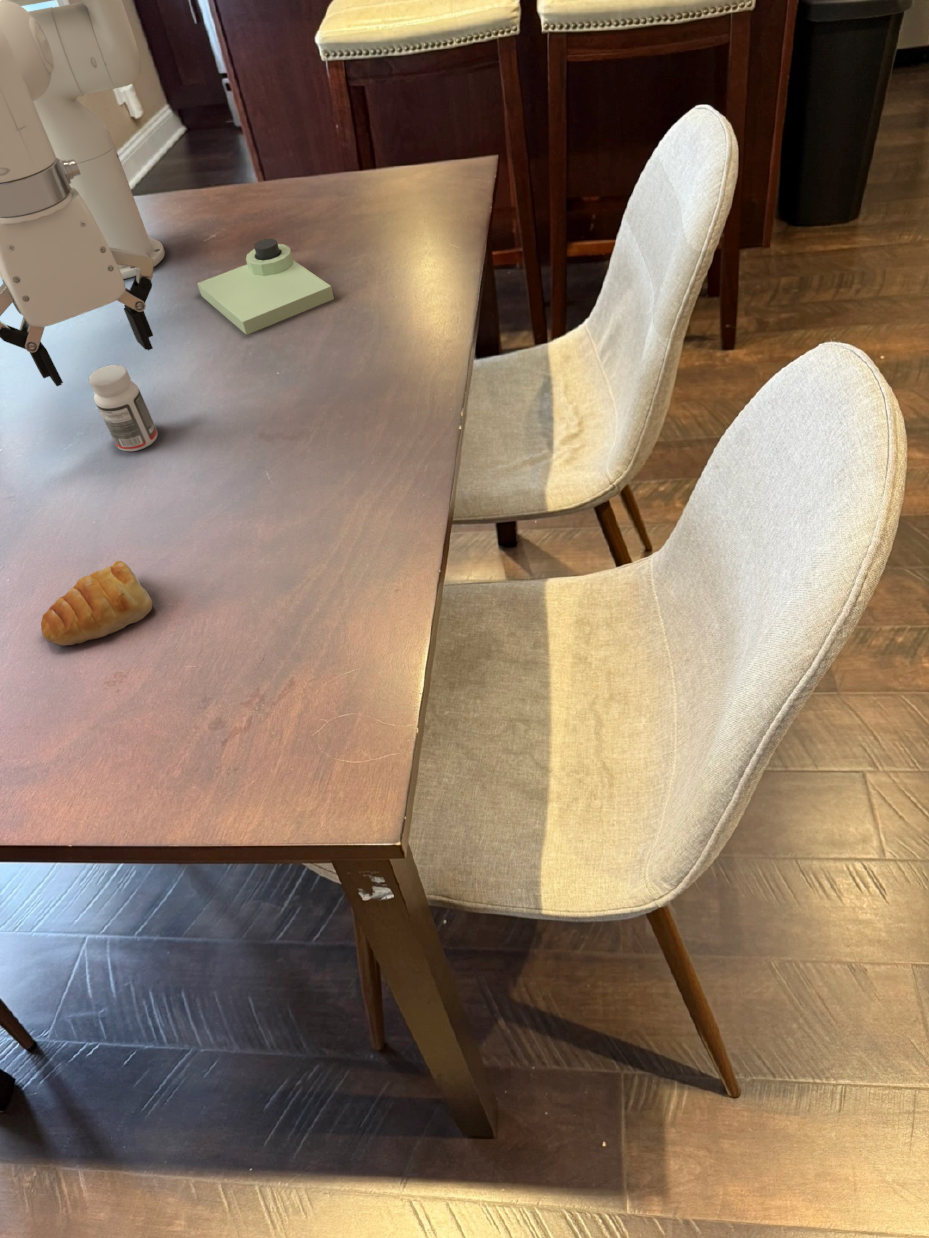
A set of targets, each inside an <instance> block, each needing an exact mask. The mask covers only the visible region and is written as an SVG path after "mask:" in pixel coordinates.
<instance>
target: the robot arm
mask: <svg viewBox="0 0 929 1238" xmlns="http://www.w3.org/2000/svg"><path fill="white" fill-rule="evenodd" d="M52 1H54V0H0V279H1V281H2V284H1V285H0V317H1V316H2V315H3V314H4V313H5V311H6V310H7V309H8V308H9V307H10V306H11V305H13V306H14V307H15V309H16V311H17V312H18V313H19V314H20V315H22V319H21V324H20V328H16V327H15V326H11V325H8V324H6V323H5V322H3V321H2V320H0V339H1V340H2V341H3V342H5V343H8V344H11V345H13V346H16V347H18V348H21V349H23V350H26V351H27V352H28V353H29V354H30V357H31V358H32V360H33V362H34V364H35V366H36V368H37V370H38V372H39V374H40V376H42V378H43V379H46V378H50V379H51V380H52V382H53V384H54V385H55V387H59V386H63V383H64V382H63V379H62V377H61V376H60V373H59V372H58V369H57V368H56V366H55V363H54V362H53V359H52V357H51V355H50V353H49V351H48V349H47V348H46V347H45V345H44V344H43V343H42V338H43V334H44V331H45V328H46V327H50V326H53V325H56V324H58V323H61V322H65V321H68V320H69V319H73V318H76V317H79V316H82V315H84V314H86V313H88V312H91V311H95V310H97V309H100V308H103V307H105V306H107V305H110V304H113V303H114V302H116V301H117V302H119V303H121V304H123V311H124V313H125V316H126V318H127V321H128V323H129V326H130V328H131V329H132V333H133V336H134V338H135V340H136V342H137V343H138V344H139V345H140V346H141V347H142V348H143V349H144V350H145V351H146V350H147V351H150V350H152V349H153V345H152V343H151V340H150V338H151V337H154V334H153V331H152V328H151V326H150V322H149V321H148V318H147V316H146V312H145V310H146V303H147V300H148V298H149V295H150V293H151V290H152V287H153V282H152V279H153V276H154V268H155V267H156V266H157V265H158V264H160V263H161V261H163V259H164V257H165V253H166V252H165V248H164V246H163V244H162V242H160V241H159V239H158V240H157V239H155V238H151V237H149V235H148V233H147V230H146V227H145V224H144V222H143V221H144V220H143V219H142V216H141V213H140V210H139V207H138V204H137V202H136V199H135V197H134V194H133V191H132V189H131V186H130V183H129V180H128V178H127V175H126V173H125V169H124V167H123V165H122V162H121V159H120V156H119V154H118V150H117V148H116V146H115V143H114V140H113V137H112V134H111V131H109V129H108V127H107V125H106V124H105V123H104V121H103V120H102V119H101V118H100V116H98V115H97V114H96V113H95V111H92V110H91V109H90V108H89V107H88V106H86V105H85V104H84V103H82V102H81V101H80V100H79V99H77V98H79V97H85V96H86V95H90V94H95V93H99V92H105V91H111V90H116V89H120V88H123V87H126V86H127V87H128V86H129V85H132V84H134V83H135V82H137V81H138V79H139V78H140V75H141V72H142V62H141V57H140V52H139V47H138V44H137V41H136V38H135V35H134V32H133V28H132V26H131V23H130V20H129V17H128V14H127V12H126V8H125V5H124V3H123V0H79V1H80V2H75V3H69V4H65V5H64V4H63V5H59V6H54V7H53V6H51V7H44V8H40V9H36V10H35V9H34V10H30V11H27V9H26V8H24V6H25V7H26V6H31V5H36V4H42V3H47V2H52ZM133 277H134V279H133V282H132V284H131V286H130V287H129V288H127V287H126V283H125V280H127V279H131V278H133Z"/></svg>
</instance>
